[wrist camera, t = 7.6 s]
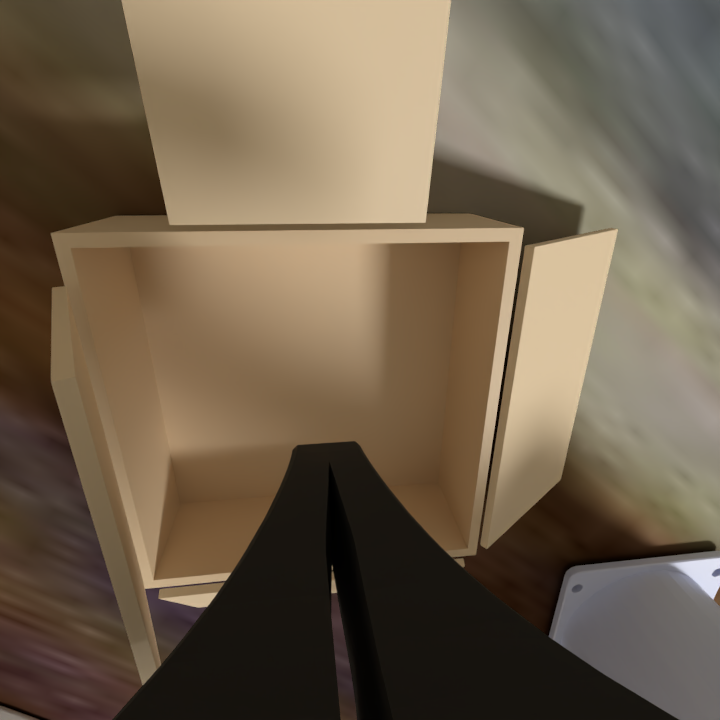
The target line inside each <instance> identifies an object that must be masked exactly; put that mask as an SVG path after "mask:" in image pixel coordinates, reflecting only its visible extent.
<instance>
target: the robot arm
mask: <svg viewBox="0 0 720 720" xmlns="http://www.w3.org/2000/svg"><path fill="white" fill-rule="evenodd" d="M332 567H333V573H334V578H335V584H336V590H337V595H338V601H339V607H340V612H341V618H342V624H343V629H344V635H345V640H346V646H347V652H348V657H349V663H350V668H351V674H352V681H353V688H354V695H355V702H356V713H357V720H720V606H719V605H718V604H717V603H716V602H715V601H714V600H713V599H714V597H715V595H716V592H717V590H718V588H719V586H720V551H709V552H700V553H690V554H681V555H672V556H663V557H654V558H644V559H635V560H626V561H617V562H607V563H598V564H589V565H580V566H574V567H571V568H570V569H568V570H567V571H566V573H565V575H564V579H563V583H562V587H561V591H560V595H559V599H558V602H557V606H556V610H555V614H554V618H553V622H552V625H551V629H550V633H549V636H547V635H546V634H544V633H543V632H542V631H541V630H539V629H538V628H537V627H535V626H534V625H533V624H531V623H530V622H529V621H527V620H526V619H525V618H524V617H522V616H521V615H520V614H518V613H517V612H516V611H514V610H513V609H512V608H510V607H509V606H508V605H506V604H505V603H504V602H503V601H501V600H500V599H499V598H497V597H496V596H495V595H494V594H493V593H491V592H490V591H489V590H488V589H487V588H486V587H484V586H483V585H482V584H481V583H480V582H479V581H477V580H476V579H475V578H474V577H473V576H472V575H470V574H469V573H468V572H467V571H466V570H465V569H464V568H463V567H462V566H461V565H460V564H458V563H457V562H456V561H455V560H454V559H453V558H452V557H451V556H450V555H449V554H448V553H447V552H446V551H445V550H444V549H443V548H442V547H441V546H440V545H439V544H438V543H437V542H436V541H435V540H434V539H433V538H432V537H431V536H430V535H429V534H428V533H427V532H426V531H425V530H424V529H423V527H422V526H421V525H420V524H419V523H418V522H417V521H416V520H415V519H414V518H413V516H412V515H411V514H410V513H409V512H408V511H407V510H406V508H405V507H404V506H403V505H402V504H401V502H400V501H399V500H398V499H397V497H396V496H395V495H394V494H393V492H392V491H391V490H390V489H389V487H388V486H387V485H386V484H385V482H384V481H383V480H382V478H381V477H380V475H379V474H378V473H377V471H376V470H375V468H374V467H373V466H372V464H371V463H370V461H369V460H368V458H367V456H366V455H365V453H364V452H363V450H362V448H361V446H360V445H359V444H358V443H357V442H356V441H348V442H334V443H319V444H304V445H297V446H296V447H295V448H294V449H293V450H292V455H291V459H290V462H289V465H288V468H287V471H286V473H285V476H284V478H283V480H282V483H281V485H280V487H279V490H278V492H277V494H276V496H275V498H274V500H273V502H272V504H271V506H270V508H269V510H268V512H267V514H266V516H265V518H264V520H263V522H262V523H261V525H260V527H259V528H258V530H257V532H256V534H255V535H254V537H253V539H252V541H251V542H250V544H249V546H248V548H247V549H246V551H245V553H244V554H243V556H242V557H241V559H240V560H239V562H238V564H237V565H236V567H235V568H234V570H233V571H232V573H231V574H230V576H229V577H228V579H227V580H226V582H225V583H224V584H223V586H222V587H221V589H220V590H219V592H218V593H217V594H216V596H215V597H214V599H213V600H212V601H211V603H210V604H209V605H208V607H207V608H206V609H205V611H204V612H203V613H202V614H201V616H200V617H199V618H198V620H197V621H196V622H195V624H194V625H193V626H192V628H191V629H190V630H189V631H188V633H187V634H186V635H185V637H184V638H183V639H182V640H181V642H180V643H179V644H178V645H177V646H176V648H175V649H174V650H173V651H172V653H171V654H170V655H169V656H168V657H167V659H166V660H165V661H164V662H163V663H162V664H161V666H160V667H159V668H158V669H157V670H156V671H155V672H154V673H153V675H152V676H151V677H150V678H149V679H148V680H147V681H146V682H145V684H144V685H143V686H142V687H141V688H140V689H139V690H138V692H137V693H136V694H135V695H134V696H133V697H132V698H131V699H130V701H129V702H128V703H127V704H126V705H125V706H124V707H123V708H122V710H121V711H120V712H119V713H118V714H117V715H116V716H115V717H114V719H113V720H341V719H340V709H339V698H338V687H337V676H336V665H335V655H334V644H333V632H332V621H331V588H332Z"/></svg>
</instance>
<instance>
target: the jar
mask: <svg viewBox="0 0 720 720" xmlns="http://www.w3.org/2000/svg"><path fill="white" fill-rule="evenodd" d="M0 720H40V719H37V718H34V717H32V716H29V715H26V714H23V713H21V712H18V711H15V710H12V709H10V708H7V707H4V706H1V705H0Z"/></svg>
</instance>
